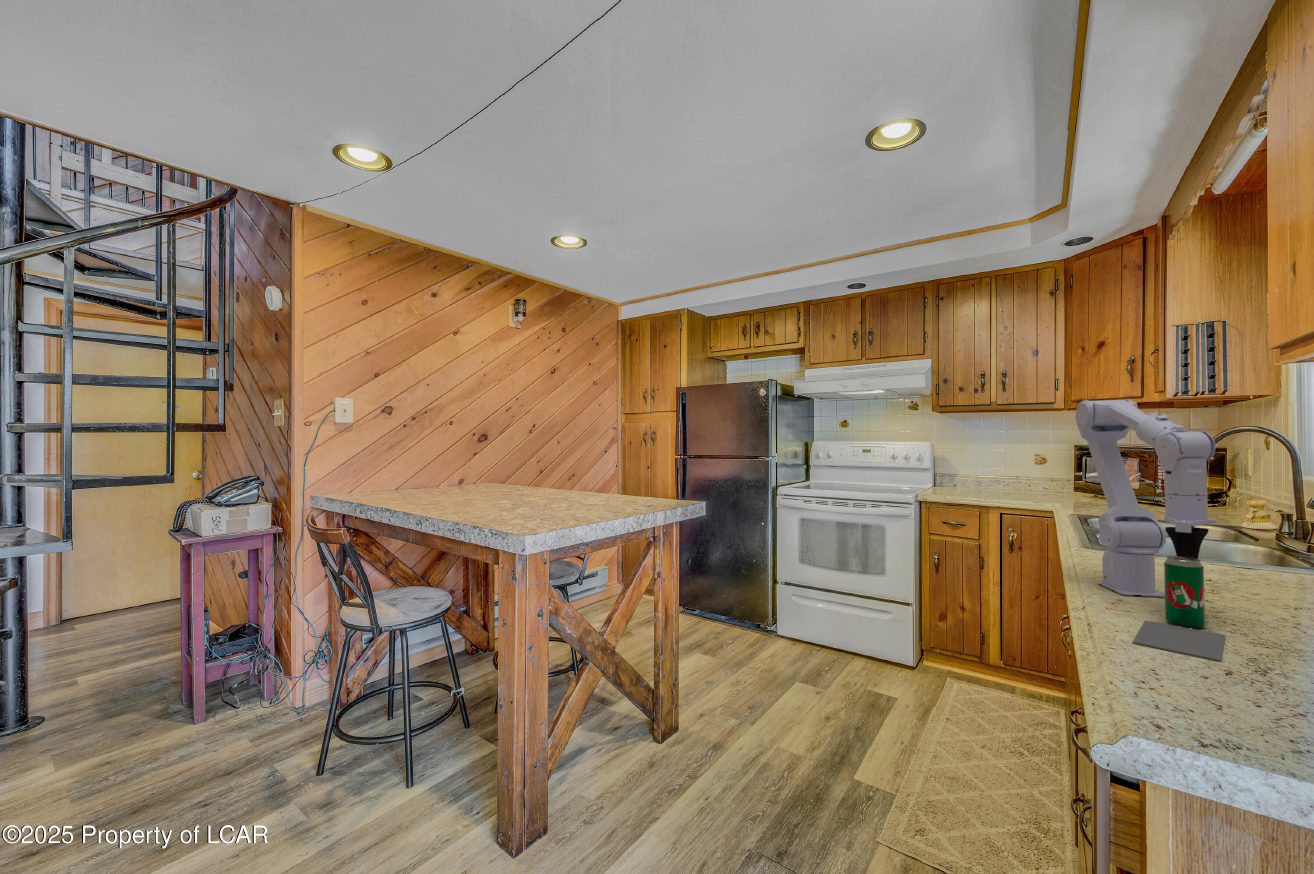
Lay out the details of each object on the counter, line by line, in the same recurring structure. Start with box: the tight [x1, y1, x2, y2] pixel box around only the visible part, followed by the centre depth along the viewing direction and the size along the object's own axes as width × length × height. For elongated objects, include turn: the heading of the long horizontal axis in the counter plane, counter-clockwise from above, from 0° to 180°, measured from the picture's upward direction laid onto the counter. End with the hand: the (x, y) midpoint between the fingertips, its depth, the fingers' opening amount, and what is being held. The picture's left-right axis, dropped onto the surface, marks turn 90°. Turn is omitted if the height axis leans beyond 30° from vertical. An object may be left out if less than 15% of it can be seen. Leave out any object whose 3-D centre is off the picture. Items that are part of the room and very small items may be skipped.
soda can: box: [1163, 555, 1206, 630], centre depth 95 cm, size 5×5×12 cm
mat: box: [1132, 619, 1226, 662], centre depth 88 cm, size 15×10×1 cm, turn 131°
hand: (1187, 565), depth 100 cm, fingers closed
